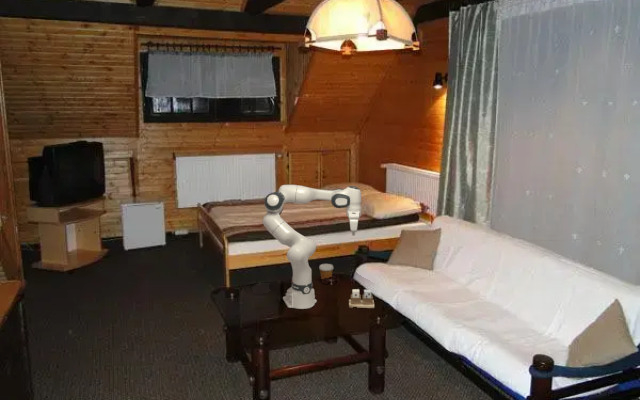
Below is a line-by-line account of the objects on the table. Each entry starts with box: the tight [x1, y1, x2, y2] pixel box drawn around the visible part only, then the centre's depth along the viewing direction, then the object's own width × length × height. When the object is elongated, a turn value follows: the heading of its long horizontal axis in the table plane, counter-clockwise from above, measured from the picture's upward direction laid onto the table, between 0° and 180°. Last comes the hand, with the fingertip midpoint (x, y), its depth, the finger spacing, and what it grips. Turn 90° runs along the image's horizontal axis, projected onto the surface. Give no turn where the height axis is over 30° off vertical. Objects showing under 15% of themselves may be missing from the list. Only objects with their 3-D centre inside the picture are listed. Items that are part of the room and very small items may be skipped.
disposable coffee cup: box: [318, 263, 335, 280], centre depth 353 cm, size 10×10×12 cm
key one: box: [351, 288, 360, 298], centre depth 318 cm, size 4×4×8 cm
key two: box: [363, 289, 372, 298], centre depth 317 cm, size 4×4×8 cm
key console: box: [348, 293, 375, 309], centre depth 318 cm, size 9×15×5 cm, turn 87°
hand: (353, 234), depth 325 cm, fingers closed
